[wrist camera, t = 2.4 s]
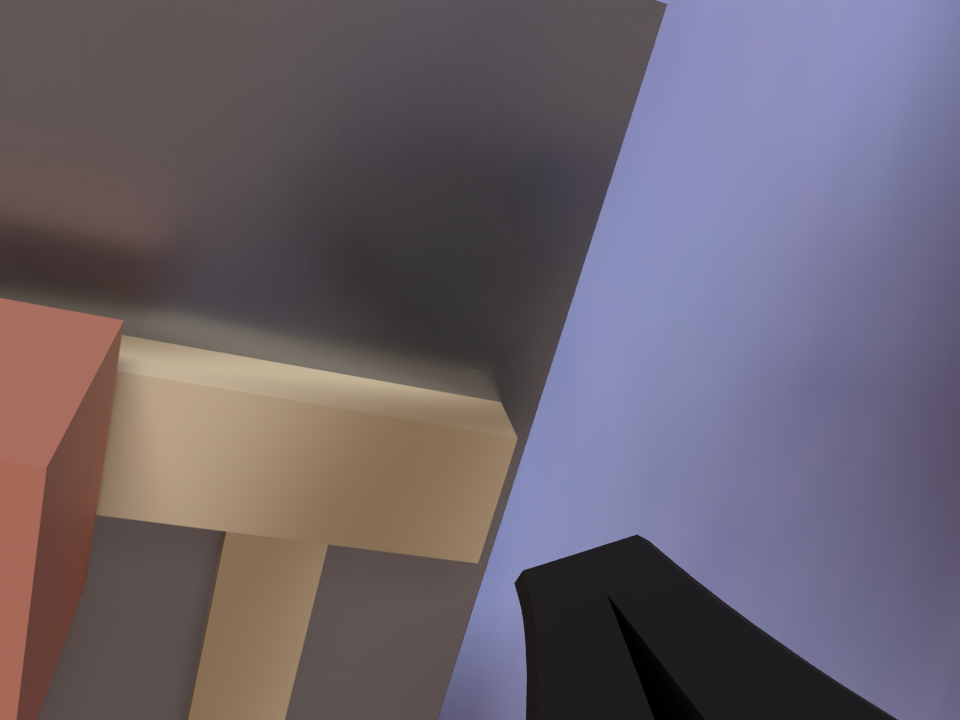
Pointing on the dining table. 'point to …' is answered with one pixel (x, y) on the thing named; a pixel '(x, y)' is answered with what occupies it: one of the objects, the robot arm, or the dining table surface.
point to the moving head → (47, 483)
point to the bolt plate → (308, 264)
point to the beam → (291, 491)
